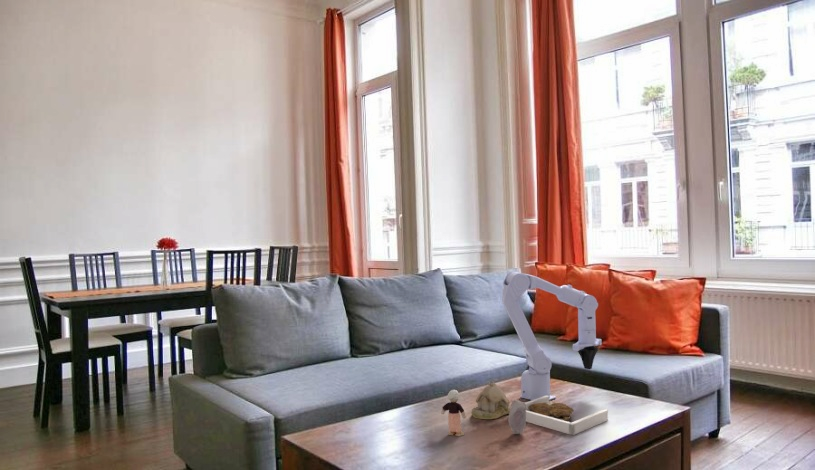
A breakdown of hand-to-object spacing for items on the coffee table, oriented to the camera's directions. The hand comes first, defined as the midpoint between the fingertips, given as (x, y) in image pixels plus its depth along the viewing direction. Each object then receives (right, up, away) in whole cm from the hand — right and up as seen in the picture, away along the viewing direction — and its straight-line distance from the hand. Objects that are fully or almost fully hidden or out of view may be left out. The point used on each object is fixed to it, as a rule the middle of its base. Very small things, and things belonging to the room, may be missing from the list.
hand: (587, 368), depth 205 cm
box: (-16, -10, -23) cm, 29 cm away
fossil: (-31, -11, -35) cm, 48 cm away
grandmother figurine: (-48, -12, -33) cm, 60 cm away
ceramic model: (-35, -11, -15) cm, 40 cm away
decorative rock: (-17, -11, -20) cm, 28 cm away
